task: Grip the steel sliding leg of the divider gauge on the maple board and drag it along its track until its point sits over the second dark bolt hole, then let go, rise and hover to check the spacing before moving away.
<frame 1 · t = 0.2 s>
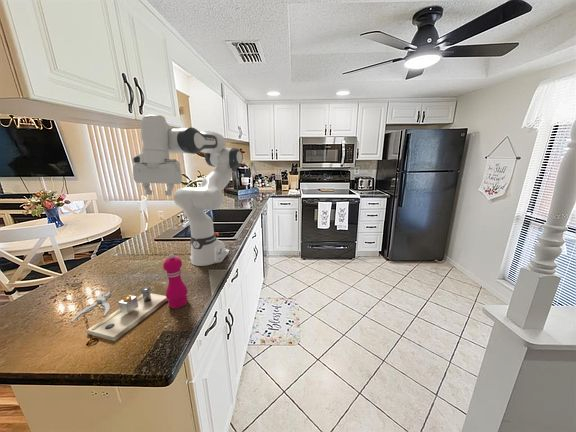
hand: (158, 195, 88), 39 cm above the worktop, tool pointing down, fingers open, 8 cm apart
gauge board: (132, 315, 78), on the worktop
fixed leg: (148, 303, 84), resting on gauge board
pliers: (98, 307, 83), on the worktop
pepper mill: (178, 303, 85), on the worktop
sliding leg: (128, 304, 77), point 5 cm above the worktop, slide at 7.0 cm
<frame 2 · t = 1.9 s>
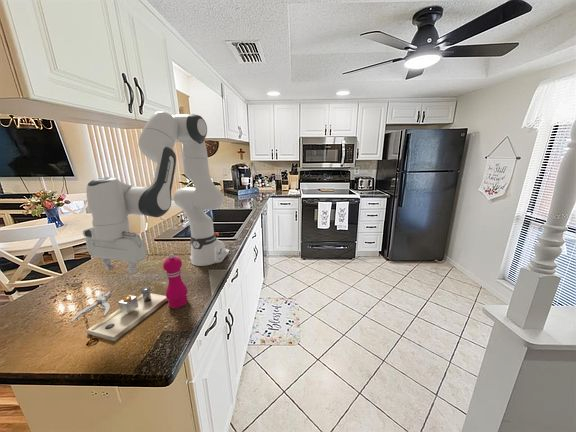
hand: (121, 271, 73), 17 cm above the worktop, tool pointing down, fingers open, 8 cm apart
nothing on the worktop moved.
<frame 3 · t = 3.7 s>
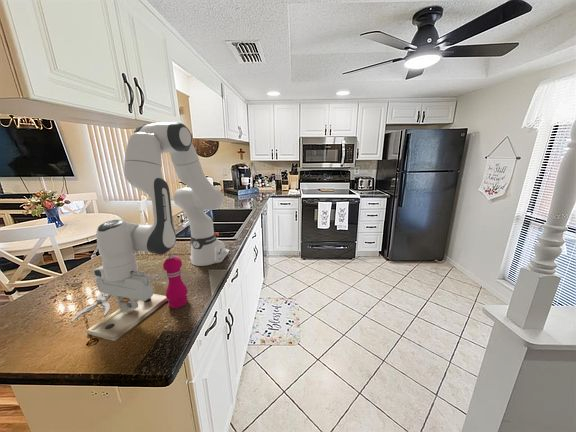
hand: (129, 306, 77), 4 cm above the worktop, tool pointing down, fingers closed on sliding leg, 3 cm apart
sliding leg: (128, 304, 77), point 5 cm above the worktop, slide at 7.0 cm, touching gripper
everything else where it was.
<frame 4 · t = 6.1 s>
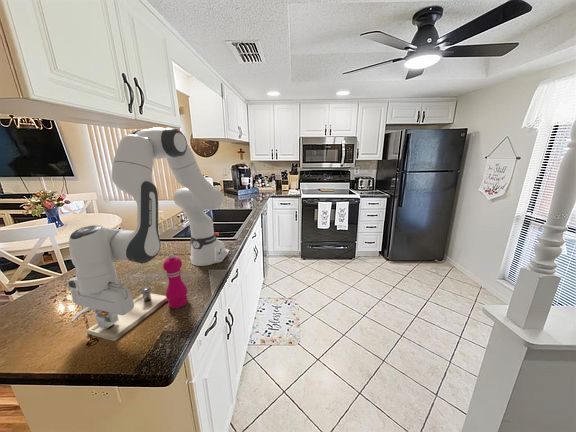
hand: (107, 319, 70), 4 cm above the worktop, tool pointing down, fingers closed on sliding leg, 3 cm apart
sliding leg: (107, 318, 70), point 5 cm above the worktop, slide at 14.1 cm, touching gripper
everything else where it was.
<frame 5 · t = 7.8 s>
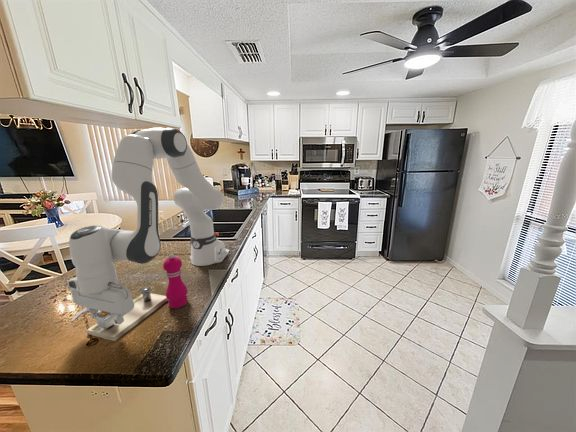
hand: (108, 320, 70), 4 cm above the worktop, tool pointing down, fingers open, 8 cm apart
sliding leg: (107, 318, 70), point 5 cm above the worktop, slide at 14.1 cm
everything else where it was.
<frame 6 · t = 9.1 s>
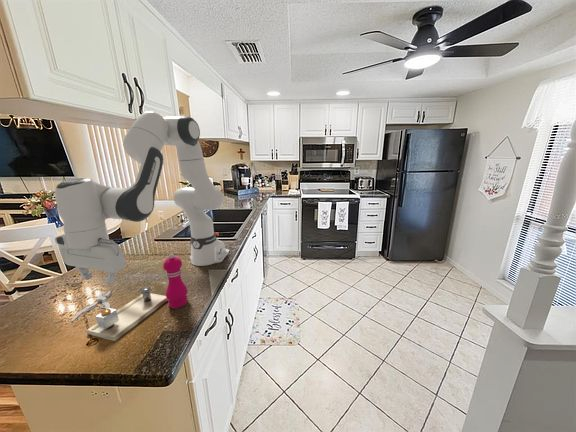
hand: (99, 280, 67), 18 cm above the worktop, tool pointing down, fingers open, 8 cm apart
nothing on the worktop moved.
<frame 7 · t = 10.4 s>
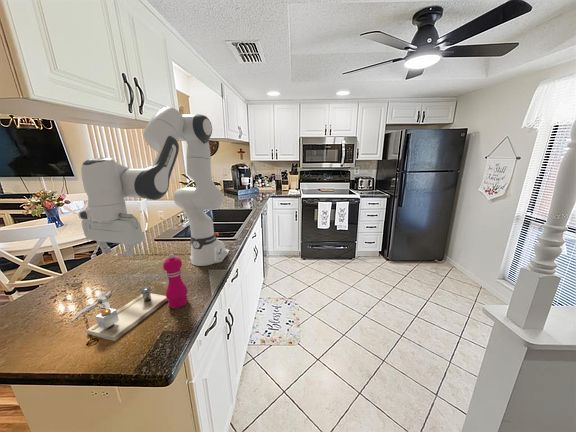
hand: (117, 254, 72), 23 cm above the worktop, tool pointing down, fingers open, 8 cm apart
nothing on the worktop moved.
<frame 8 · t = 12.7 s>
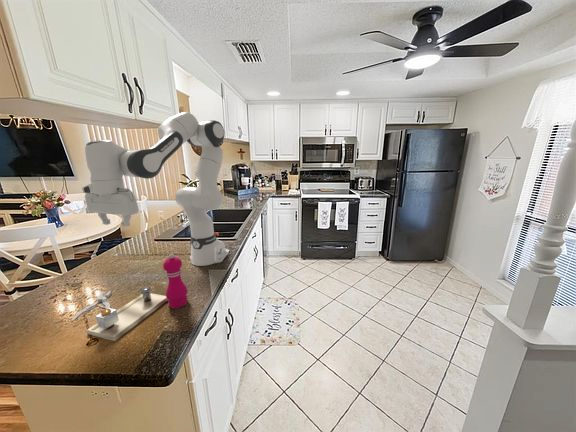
hand: (116, 225, 83), 29 cm above the worktop, tool pointing down, fingers open, 8 cm apart
nothing on the worktop moved.
at the end: sliding leg slide at 14.1 cm; the gripper is holding nothing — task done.
